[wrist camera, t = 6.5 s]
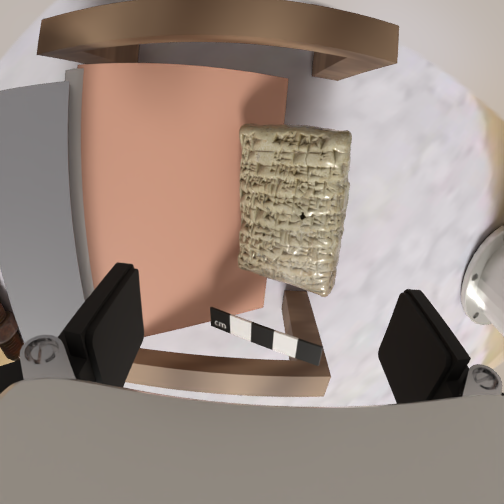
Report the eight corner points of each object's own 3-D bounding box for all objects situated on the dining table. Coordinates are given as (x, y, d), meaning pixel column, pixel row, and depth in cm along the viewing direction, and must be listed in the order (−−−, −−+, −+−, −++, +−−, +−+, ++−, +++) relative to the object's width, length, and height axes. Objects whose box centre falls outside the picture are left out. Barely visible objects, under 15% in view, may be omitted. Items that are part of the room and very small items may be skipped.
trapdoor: (261, 80, 20) (310, 78, 16) (243, 288, 26) (278, 321, 22) (6, 81, 11) (-16, 71, 8) (39, 329, 18) (39, 379, 14)
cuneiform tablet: (211, 325, 20) (203, 123, 14) (246, 291, 23) (250, 118, 18) (318, 366, 17) (354, 137, 11) (341, 321, 20) (371, 131, 15)
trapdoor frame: (339, 56, 20) (398, 25, 11) (303, 309, 29) (323, 396, 20) (115, 47, 19) (41, 19, 10) (120, 295, 28) (76, 371, 19)
